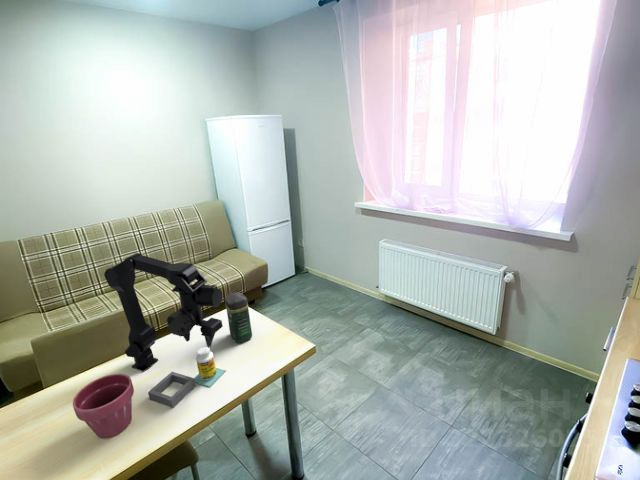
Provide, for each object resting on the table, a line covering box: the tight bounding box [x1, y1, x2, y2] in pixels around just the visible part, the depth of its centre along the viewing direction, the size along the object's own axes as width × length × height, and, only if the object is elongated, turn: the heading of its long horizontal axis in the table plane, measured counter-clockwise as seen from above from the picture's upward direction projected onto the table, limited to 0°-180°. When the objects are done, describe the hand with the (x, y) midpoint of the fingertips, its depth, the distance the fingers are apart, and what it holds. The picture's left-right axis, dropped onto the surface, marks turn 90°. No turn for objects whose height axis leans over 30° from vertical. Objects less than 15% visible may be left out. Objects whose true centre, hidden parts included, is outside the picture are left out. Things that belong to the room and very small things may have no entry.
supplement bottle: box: [195, 346, 217, 380], centre depth 113 cm, size 6×6×10 cm
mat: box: [193, 367, 227, 388], centre depth 115 cm, size 8×8×1 cm
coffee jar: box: [224, 291, 253, 344], centre depth 133 cm, size 10×8×19 cm
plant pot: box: [72, 373, 135, 440], centre depth 96 cm, size 14×14×13 cm
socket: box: [147, 371, 197, 409], centre depth 108 cm, size 10×10×3 cm
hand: (198, 343), depth 113 cm, fingers open, 9 cm apart
